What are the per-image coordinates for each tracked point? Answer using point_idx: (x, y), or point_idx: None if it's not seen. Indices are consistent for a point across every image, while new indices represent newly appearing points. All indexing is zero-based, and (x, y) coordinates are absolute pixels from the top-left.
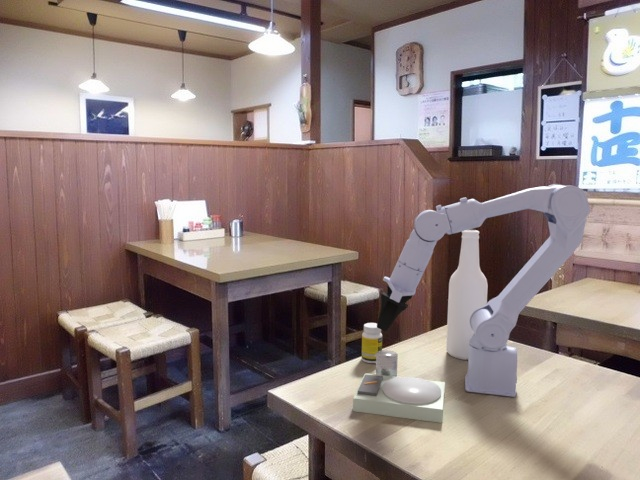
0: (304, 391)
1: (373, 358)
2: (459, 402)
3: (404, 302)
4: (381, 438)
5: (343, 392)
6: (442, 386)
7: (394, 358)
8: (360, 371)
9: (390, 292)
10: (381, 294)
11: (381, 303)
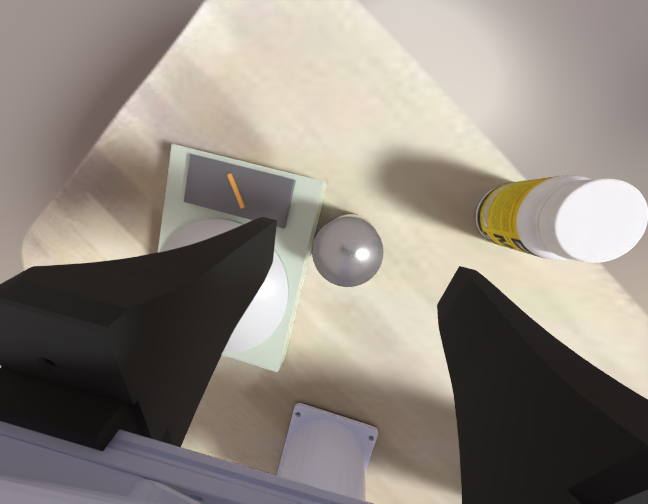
0: (281, 16)
1: (481, 218)
2: (251, 374)
3: (464, 461)
4: (101, 202)
5: (281, 126)
6: (253, 360)
7: (320, 272)
8: (416, 175)
9: (565, 425)
10: (4, 285)
11: (113, 262)
